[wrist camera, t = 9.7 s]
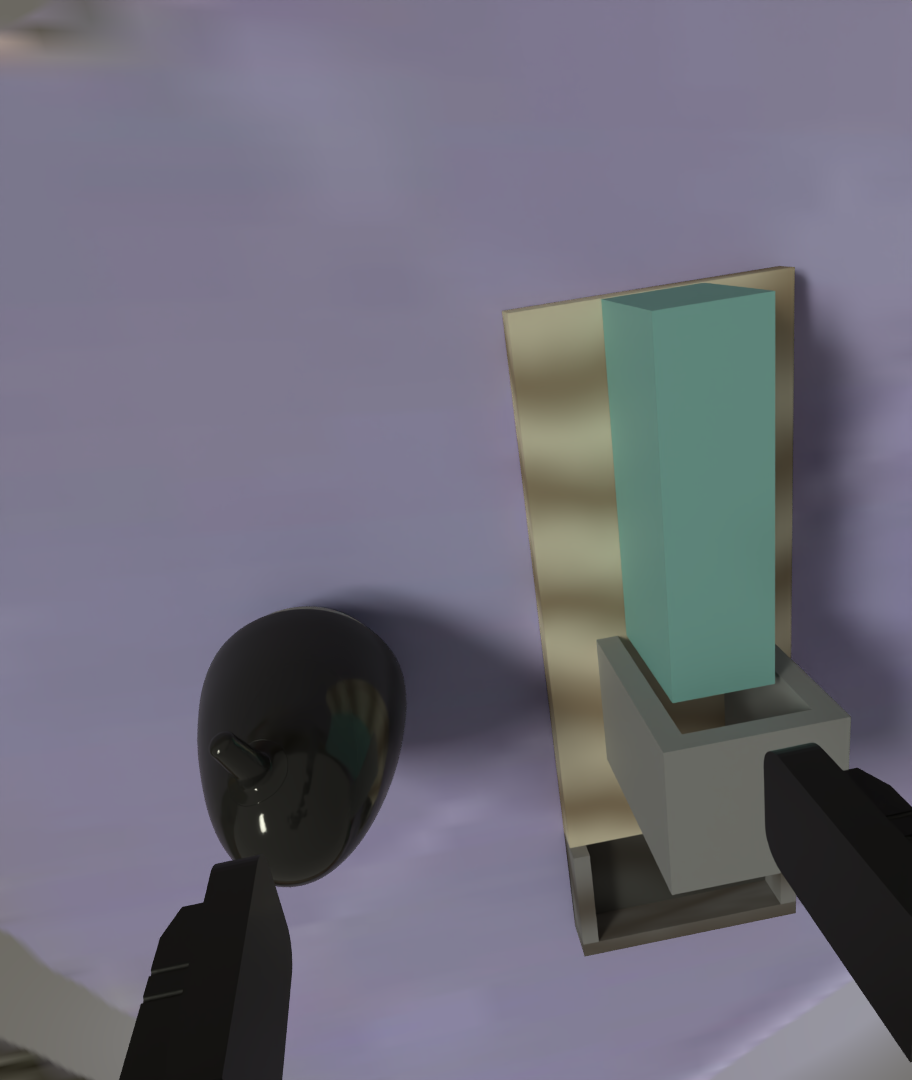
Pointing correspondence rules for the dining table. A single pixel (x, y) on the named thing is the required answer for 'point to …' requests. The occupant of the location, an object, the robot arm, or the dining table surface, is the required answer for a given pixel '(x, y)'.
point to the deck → (618, 612)
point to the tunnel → (709, 766)
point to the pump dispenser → (299, 739)
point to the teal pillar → (696, 481)
